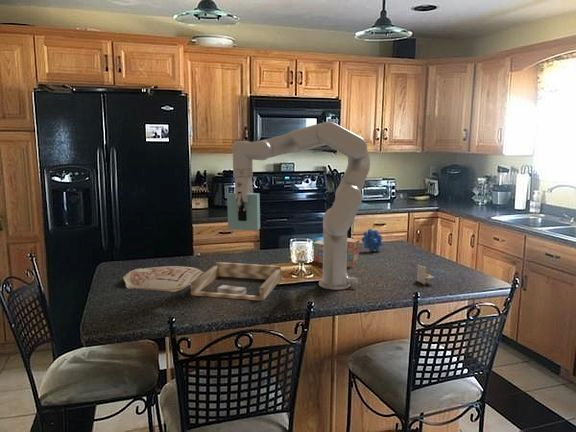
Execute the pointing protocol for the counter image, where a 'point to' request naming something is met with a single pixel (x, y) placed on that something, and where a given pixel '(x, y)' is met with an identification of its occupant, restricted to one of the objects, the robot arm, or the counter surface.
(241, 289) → the offcut upper
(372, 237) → the blue gear
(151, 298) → the counter surface
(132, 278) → the poster
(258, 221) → the teal rectangular block
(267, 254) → the counter surface
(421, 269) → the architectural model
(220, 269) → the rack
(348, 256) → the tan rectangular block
